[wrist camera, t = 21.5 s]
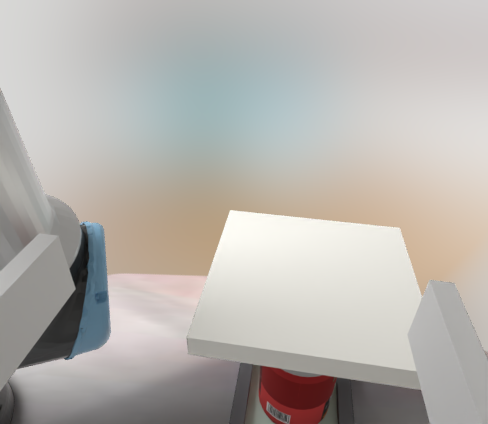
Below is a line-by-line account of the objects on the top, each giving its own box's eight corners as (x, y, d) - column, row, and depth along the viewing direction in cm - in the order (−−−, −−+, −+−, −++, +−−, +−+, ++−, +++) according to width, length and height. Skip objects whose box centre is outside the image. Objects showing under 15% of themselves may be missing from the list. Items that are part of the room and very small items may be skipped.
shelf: (382, 492, 35) (447, 375, 25) (199, 458, 38) (186, 337, 27) (363, 343, 49) (399, 228, 39) (230, 324, 52) (230, 210, 41)
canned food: (337, 429, 40) (356, 368, 34) (264, 438, 39) (270, 377, 33) (317, 365, 46) (330, 304, 40) (253, 372, 45) (257, 310, 39)
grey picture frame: (355, 475, 37) (357, 469, 36) (225, 452, 38) (225, 444, 37) (345, 360, 47) (348, 352, 46) (244, 345, 49) (245, 337, 48)
